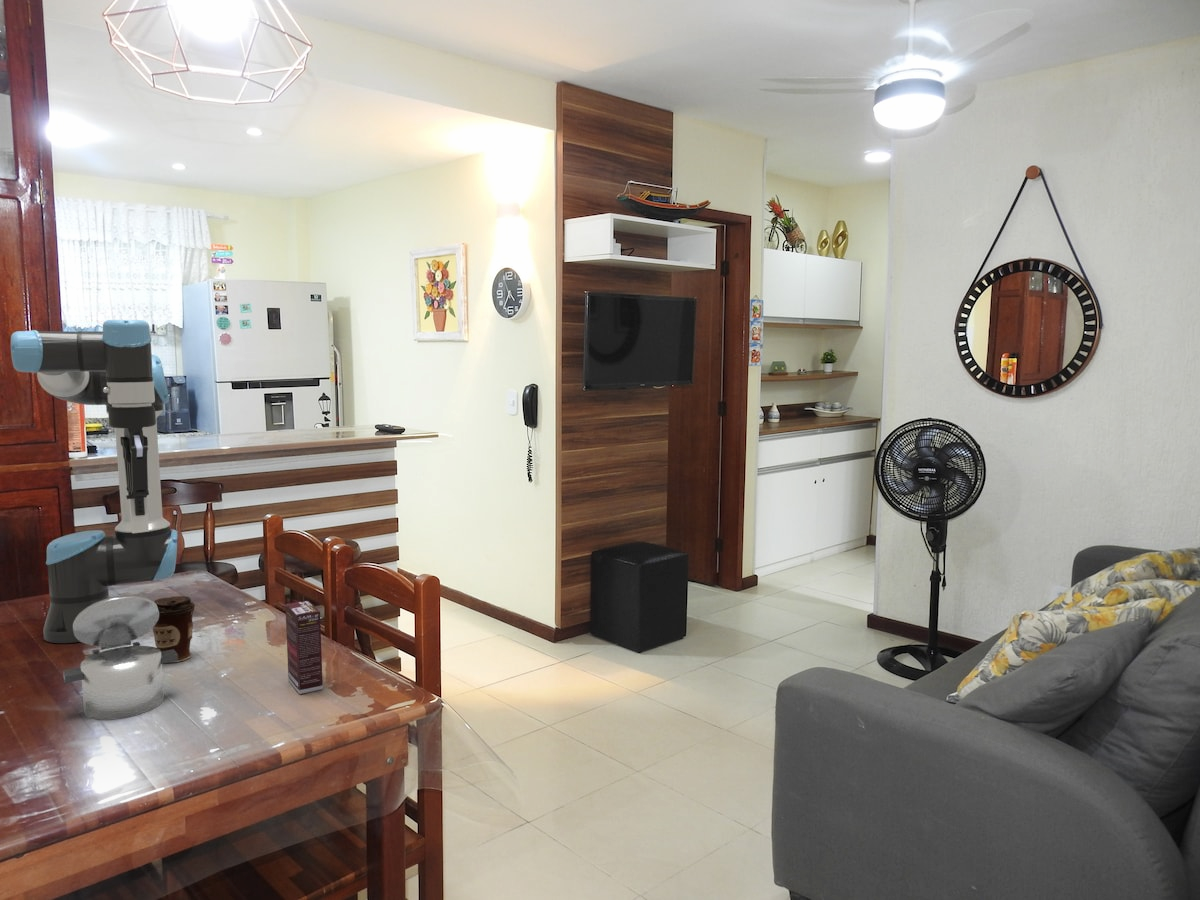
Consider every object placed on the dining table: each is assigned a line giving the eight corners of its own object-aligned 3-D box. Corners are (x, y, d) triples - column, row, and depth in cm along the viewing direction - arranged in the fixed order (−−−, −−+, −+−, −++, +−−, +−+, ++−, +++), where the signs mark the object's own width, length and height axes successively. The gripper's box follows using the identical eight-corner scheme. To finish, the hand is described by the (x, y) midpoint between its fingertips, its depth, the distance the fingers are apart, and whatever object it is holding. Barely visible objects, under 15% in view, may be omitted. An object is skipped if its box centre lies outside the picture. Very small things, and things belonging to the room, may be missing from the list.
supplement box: (324, 689, 163) (321, 610, 162) (299, 695, 161) (295, 615, 159) (312, 675, 171) (308, 599, 169) (287, 680, 168) (283, 603, 166)
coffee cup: (177, 667, 175) (173, 607, 173) (142, 664, 176) (138, 604, 175) (205, 652, 183) (201, 595, 181) (171, 650, 185) (168, 592, 183)
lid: (73, 656, 157) (71, 641, 159) (156, 640, 166) (153, 626, 167) (73, 607, 148) (71, 592, 150) (161, 594, 157) (158, 579, 159)
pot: (63, 702, 157) (59, 656, 156) (170, 679, 168) (167, 636, 167) (71, 730, 146) (67, 680, 145) (185, 703, 157) (182, 657, 156)
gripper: (103, 403, 156) (112, 528, 159) (112, 408, 146) (122, 541, 149) (148, 402, 160) (156, 523, 163) (160, 406, 150) (168, 535, 153)
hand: (140, 531), depth 156 cm, fingers closed
